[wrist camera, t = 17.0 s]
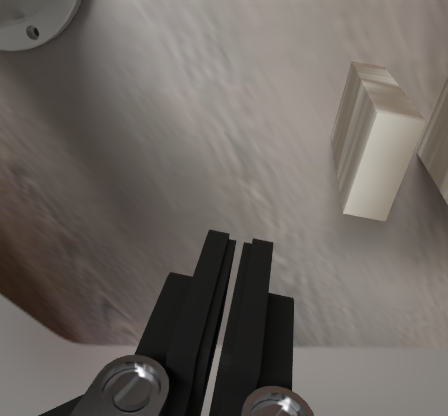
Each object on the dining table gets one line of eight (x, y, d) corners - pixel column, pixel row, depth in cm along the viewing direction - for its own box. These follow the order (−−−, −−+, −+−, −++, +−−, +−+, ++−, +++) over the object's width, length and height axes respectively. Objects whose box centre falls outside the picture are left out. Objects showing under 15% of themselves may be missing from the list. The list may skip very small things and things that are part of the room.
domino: (330, 137, 28) (343, 213, 20) (352, 61, 26) (377, 112, 17) (360, 142, 28) (385, 221, 20) (384, 67, 25) (426, 121, 17)
